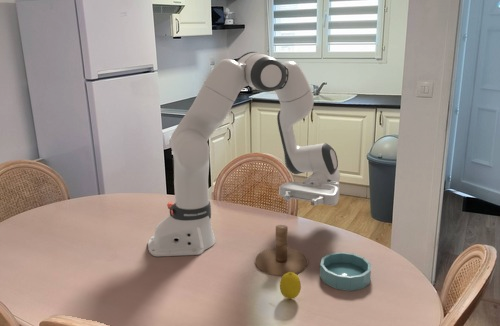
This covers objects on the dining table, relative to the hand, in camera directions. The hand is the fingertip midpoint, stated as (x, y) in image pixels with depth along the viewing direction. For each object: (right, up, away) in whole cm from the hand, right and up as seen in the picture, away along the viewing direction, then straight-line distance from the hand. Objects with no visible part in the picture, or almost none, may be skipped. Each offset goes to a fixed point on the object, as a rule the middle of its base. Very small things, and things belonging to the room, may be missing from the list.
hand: (299, 201), depth 141 cm
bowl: (+12, -21, -14) cm, 27 cm away
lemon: (-5, -24, -24) cm, 34 cm away
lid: (-6, -19, -5) cm, 20 cm away
